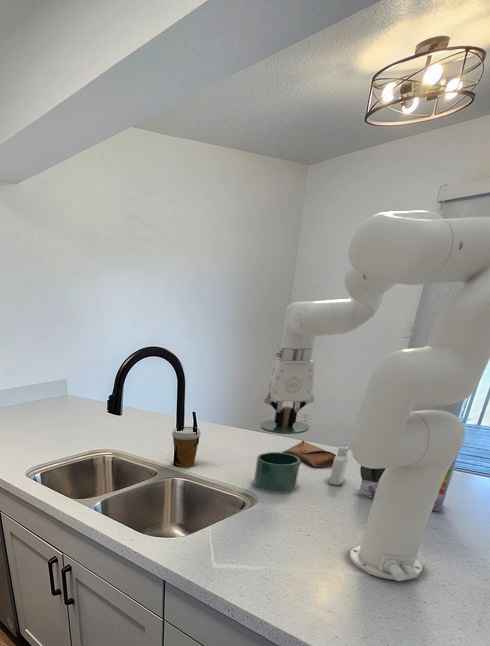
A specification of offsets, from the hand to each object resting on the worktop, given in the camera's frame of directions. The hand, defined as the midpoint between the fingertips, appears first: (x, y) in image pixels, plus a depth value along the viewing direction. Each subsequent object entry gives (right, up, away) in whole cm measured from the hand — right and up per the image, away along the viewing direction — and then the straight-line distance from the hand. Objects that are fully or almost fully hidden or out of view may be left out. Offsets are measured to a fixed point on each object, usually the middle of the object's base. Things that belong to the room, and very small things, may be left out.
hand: (284, 425), depth 120 cm
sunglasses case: (+21, -5, +28) cm, 35 cm away
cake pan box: (+28, -22, -4) cm, 35 cm away
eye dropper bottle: (+20, -15, +9) cm, 26 cm away
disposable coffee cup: (-21, -7, +30) cm, 37 cm away
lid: (0, -1, 0) cm, 1 cm away
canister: (+1, -16, +9) cm, 18 cm away
